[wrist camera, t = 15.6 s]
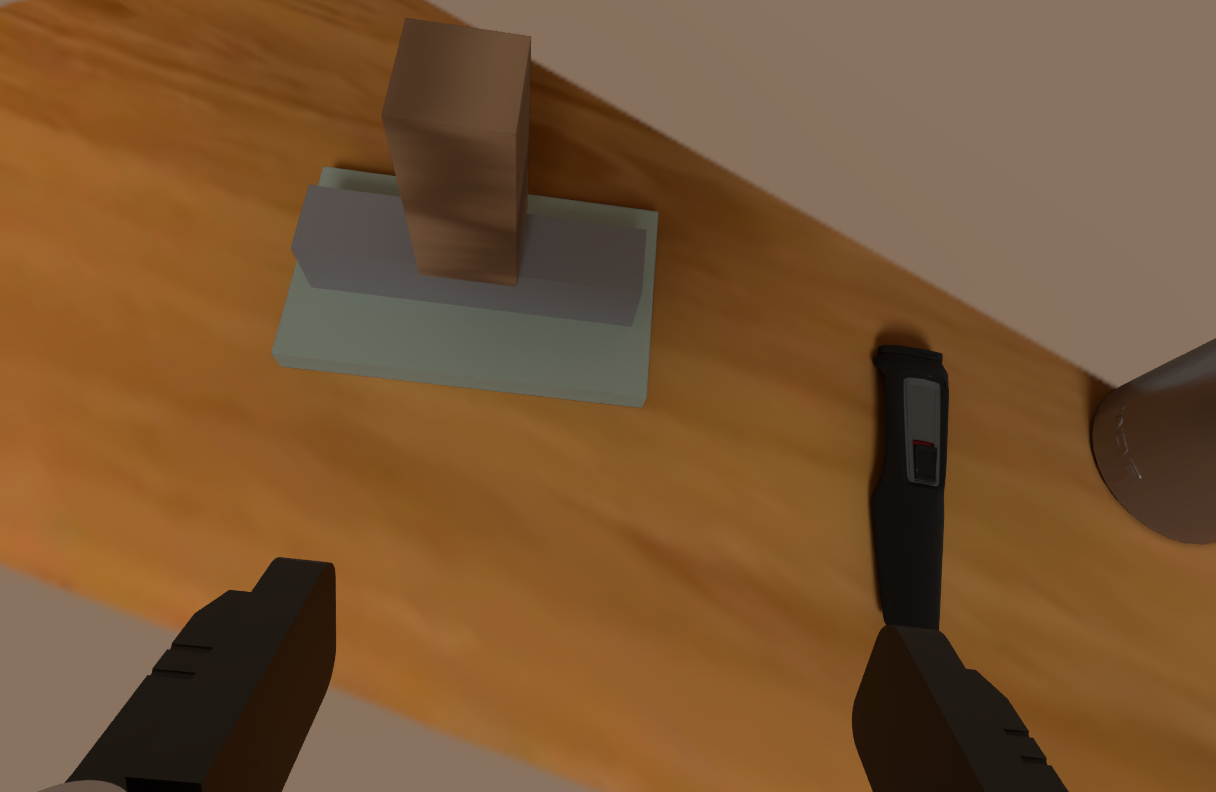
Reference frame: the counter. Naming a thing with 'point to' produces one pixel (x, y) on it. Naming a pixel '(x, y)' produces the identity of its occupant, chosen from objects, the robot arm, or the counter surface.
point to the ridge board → (472, 330)
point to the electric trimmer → (911, 486)
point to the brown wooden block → (461, 147)
